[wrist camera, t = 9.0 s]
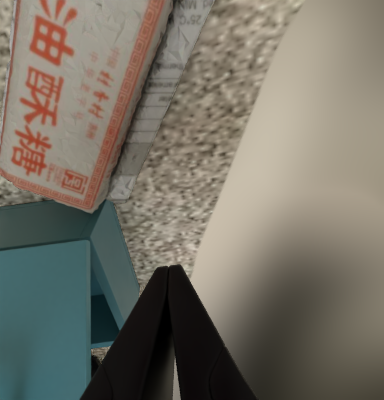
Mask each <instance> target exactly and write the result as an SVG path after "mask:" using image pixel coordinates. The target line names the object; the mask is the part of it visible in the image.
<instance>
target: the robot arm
mask: <svg viewBox="0 0 384 400" xmlns="http://www.w3.org/2000/svg"><path fill="white" fill-rule="evenodd" d="M175 358H176V366H177V373H178V381H179V388H180V396H181V400H259V399H258V398H257V397H256V395H255V394H254V392H253V390H252V389H251V387H250V386H249V384H248V383H247V381H246V380H245V378H244V377H243V375H242V373H241V372H240V370H239V368H238V367H237V365H236V363H235V362H234V360H233V358H232V356H231V355H230V353H229V351H228V349H227V348H226V347H225V344H224V342H223V340H222V339H221V337H220V335H219V333H218V331H217V329H216V328H215V326H214V324H213V322H212V320H211V318H210V317H209V315H208V313H207V311H206V309H205V308H204V306H203V304H202V302H201V300H200V299H199V297H198V295H197V293H196V291H195V289H194V288H193V286H192V284H191V282H190V280H189V278H188V277H187V275H186V273H185V271H184V269H183V267H182V266H181V265H180V264H177V265H170V266H169V267H168V266H162V267H157V268H156V270H155V271H154V273H153V275H152V277H151V278H150V280H149V282H148V283H147V285H146V287H145V289H144V290H143V292H142V294H141V295H140V297H139V299H138V301H137V302H136V304H135V306H134V308H133V309H132V311H131V313H130V314H129V316H128V318H127V320H126V321H125V323H124V325H123V326H122V328H121V330H120V332H119V333H118V335H117V337H116V338H115V340H114V342H113V344H112V345H111V347H110V349H109V350H108V352H107V354H106V356H105V357H104V359H103V361H102V364H100V363H99V361H98V359H97V358H96V357H91V381H90V383H89V384H88V386H87V388H86V389H85V391H84V392H83V394H82V396H81V397H80V399H79V400H172V397H173V379H174V360H175Z"/></svg>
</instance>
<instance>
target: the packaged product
mask: <svg viewBox="0 0 384 400" xmlns="http://www.w3.org/2000/svg"><path fill="white" fill-rule="evenodd" d="M214 1H215V0H14V9H13V16H12V22H11V31H10V40H9V43H10V58H11V60H10V61H9V63H8V64H7V71H6V80H5V89H4V98H3V109H2V116H1V123H0V175H1V176H3V177H4V178H6V179H7V180H8V181H10V182H12V183H13V184H14V186H16V187H17V188H18V189H20V190H28V191H31V192H33V193H35V194H38V195H41V196H45V197H48V198H50V199H53V200H55V201H56V202H58V203H62V204H65V205H67V206H71V207H74V208H77V209H80V210H83V211H85V212H87V213H90V214H92V213H93V212H94V211H95V210H96V209H98V206H99V205H100V204H101V203H102V202H103V201H104V200H105V199H107V200H109V201H112V202H114V203H115V204H117V203H126V202H127V200H128V198H129V196H130V194H131V192H132V190H133V187H134V184H135V182H136V179H137V177H138V174H139V172H140V170H141V168H142V165H143V163H144V161H145V159H146V157H147V154H148V152H149V150H150V148H151V146H152V143H153V141H154V139H155V136H156V134H157V131H158V129H159V126H160V124H161V122H162V120H163V117H164V115H165V113H166V111H167V109H168V106H169V104H170V102H171V100H172V98H173V95H174V93H175V91H176V89H177V87H178V84H179V81H180V79H181V76H182V73H183V71H184V68H185V66H186V64H187V61H188V59H189V57H190V55H191V52H192V50H193V48H194V46H195V43H196V41H197V39H198V37H199V35H200V32H201V30H202V28H203V26H204V23H205V21H206V19H207V17H208V15H209V12H210V10H211V8H212V6H213V3H214Z"/></svg>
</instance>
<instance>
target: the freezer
mask: <svg viewBox="0 0 384 400" xmlns="http://www.w3.org/2000/svg"><path fill="white" fill-rule="evenodd" d="M80 240H88V241H90V292H91V349H93V348H100V347H108V346H111V345H112V344H113V342H114V340H115V338H116V337H117V335H118V333H119V332H120V330H121V328H122V326H123V325H124V323H125V321H126V320H127V318H128V316H129V314H130V313H131V311H132V309H133V308H134V306H135V304H136V302H137V301H138V299H139V291H140V287H139V284H138V281H137V278H136V275H135V271H134V268H133V265H132V262H131V259H130V255H129V252H128V249H127V246H126V243H125V239H124V236H123V233H122V230H121V227H120V223H119V220H118V217H117V214H116V211H115V207H114V204H113V202H112V201H109V200H107V199H105V200H104V201H103V202H102V203H101V204H100V205H99V206H98V209H96V210H95V211H94V212H93V213H92V214H90V213H87V212H85V211H83V210H80V209H77V208H74V207H71V206H67V205H65V204H62V203H58V202H56V201H55V200H49V201H42V202H34V203H26V204H19V205H11V206H3V207H0V251H5V250H12V249H20V248H27V247H35V246H42V245H50V244H57V243H65V242H72V241H80Z"/></svg>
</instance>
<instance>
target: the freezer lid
mask: <svg viewBox="0 0 384 400" xmlns="http://www.w3.org/2000/svg"><path fill="white" fill-rule="evenodd" d="M90 381H91V292H90V241H88V240H80V241H72V242H65V243H57V244H50V245H42V246H35V247H27V248H20V249H12V250H5V251H0V400H79V399H80V397H81V396H82V394H83V392H84V391H85V389H86V388H87V386H88V384H89V383H90Z"/></svg>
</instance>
